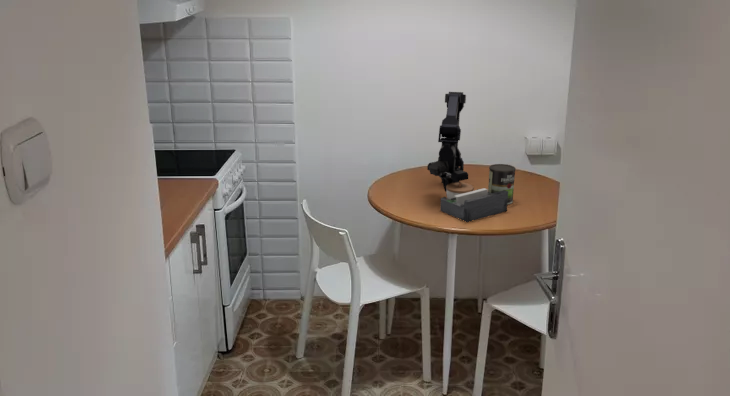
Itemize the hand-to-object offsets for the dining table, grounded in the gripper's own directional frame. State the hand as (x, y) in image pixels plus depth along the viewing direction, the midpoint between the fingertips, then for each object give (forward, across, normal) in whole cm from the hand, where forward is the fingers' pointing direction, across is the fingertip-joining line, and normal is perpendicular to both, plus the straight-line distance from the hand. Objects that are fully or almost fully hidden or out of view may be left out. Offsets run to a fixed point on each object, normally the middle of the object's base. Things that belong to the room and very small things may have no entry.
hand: (446, 191), depth 286 cm
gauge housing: (+3, +16, 0) cm, 16 cm away
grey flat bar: (+2, +14, -1) cm, 14 cm away
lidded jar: (+4, +8, 0) cm, 9 cm away
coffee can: (+4, +13, +17) cm, 22 cm away
